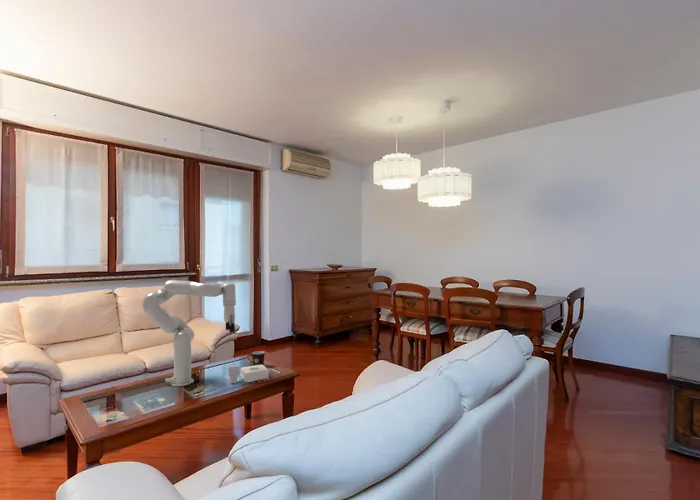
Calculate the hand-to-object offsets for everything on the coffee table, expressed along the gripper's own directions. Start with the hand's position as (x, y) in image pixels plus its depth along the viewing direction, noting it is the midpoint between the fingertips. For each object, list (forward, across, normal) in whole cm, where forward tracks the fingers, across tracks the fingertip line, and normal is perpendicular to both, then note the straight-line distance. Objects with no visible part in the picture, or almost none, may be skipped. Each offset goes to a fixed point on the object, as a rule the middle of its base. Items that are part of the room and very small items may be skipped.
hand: (230, 330), depth 225 cm
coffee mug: (+31, -19, +22) cm, 42 cm away
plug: (+30, +7, -1) cm, 31 cm away
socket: (+31, +6, +12) cm, 33 cm away
